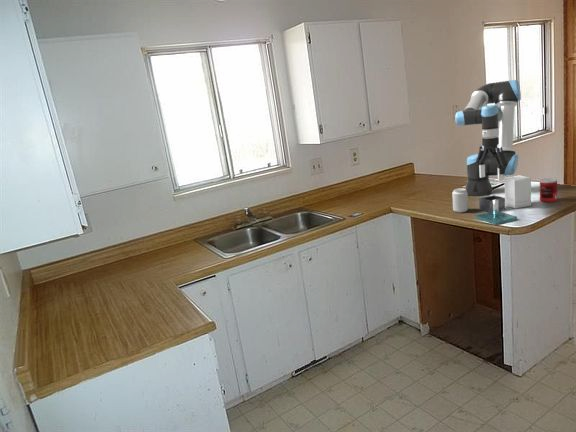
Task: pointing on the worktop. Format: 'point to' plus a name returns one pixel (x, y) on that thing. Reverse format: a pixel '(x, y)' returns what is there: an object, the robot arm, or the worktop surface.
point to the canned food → (548, 190)
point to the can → (460, 200)
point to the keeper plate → (495, 219)
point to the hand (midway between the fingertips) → (491, 178)
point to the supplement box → (518, 191)
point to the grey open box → (491, 203)
